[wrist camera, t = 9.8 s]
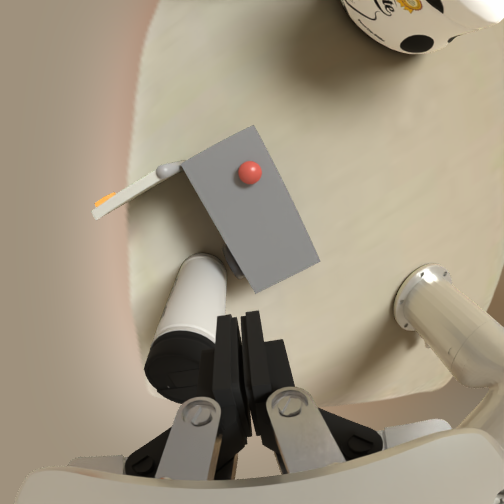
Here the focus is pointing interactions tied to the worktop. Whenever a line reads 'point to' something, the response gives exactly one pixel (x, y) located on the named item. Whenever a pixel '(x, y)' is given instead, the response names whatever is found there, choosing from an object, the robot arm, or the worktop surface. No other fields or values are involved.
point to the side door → (136, 189)
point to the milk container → (422, 21)
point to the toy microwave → (251, 210)
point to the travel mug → (187, 327)
